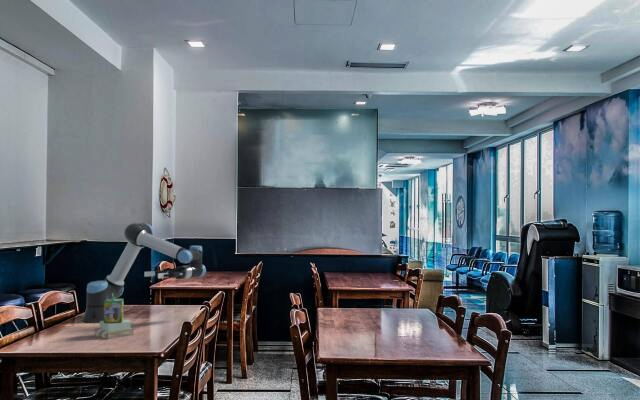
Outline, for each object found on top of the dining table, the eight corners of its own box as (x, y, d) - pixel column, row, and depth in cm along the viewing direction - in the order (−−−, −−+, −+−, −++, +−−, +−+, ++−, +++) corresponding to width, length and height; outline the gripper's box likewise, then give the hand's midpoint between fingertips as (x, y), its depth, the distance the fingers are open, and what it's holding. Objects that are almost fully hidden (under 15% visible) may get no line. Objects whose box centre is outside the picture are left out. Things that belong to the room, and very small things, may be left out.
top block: (99, 328, 282) (100, 321, 283) (122, 325, 290) (122, 318, 291) (108, 332, 274) (108, 324, 274) (131, 329, 282) (131, 321, 282)
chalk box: (121, 322, 278) (122, 294, 278) (103, 323, 276) (103, 294, 276) (123, 319, 287) (124, 292, 287) (105, 320, 285) (106, 292, 285)
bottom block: (95, 336, 281) (95, 329, 281) (119, 332, 291) (119, 325, 292) (108, 340, 272) (108, 332, 272) (133, 336, 282) (133, 328, 283)
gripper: (195, 280, 310) (164, 283, 293) (170, 277, 325) (139, 280, 309) (195, 267, 310) (164, 269, 294) (170, 264, 326) (139, 267, 309)
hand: (151, 275), depth 301 cm, fingers open, 13 cm apart
